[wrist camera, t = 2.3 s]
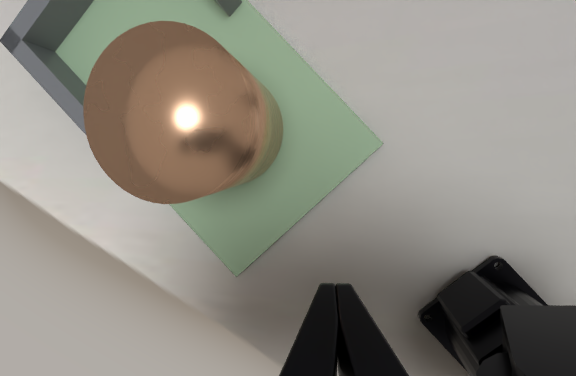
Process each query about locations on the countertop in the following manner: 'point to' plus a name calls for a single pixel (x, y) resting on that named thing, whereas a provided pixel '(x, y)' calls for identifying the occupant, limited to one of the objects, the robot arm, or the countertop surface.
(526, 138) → the countertop surface
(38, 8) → the shallow gray tray
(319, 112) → the green
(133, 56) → the copper metal cylinder
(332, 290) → the robot arm
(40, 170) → the countertop surface
